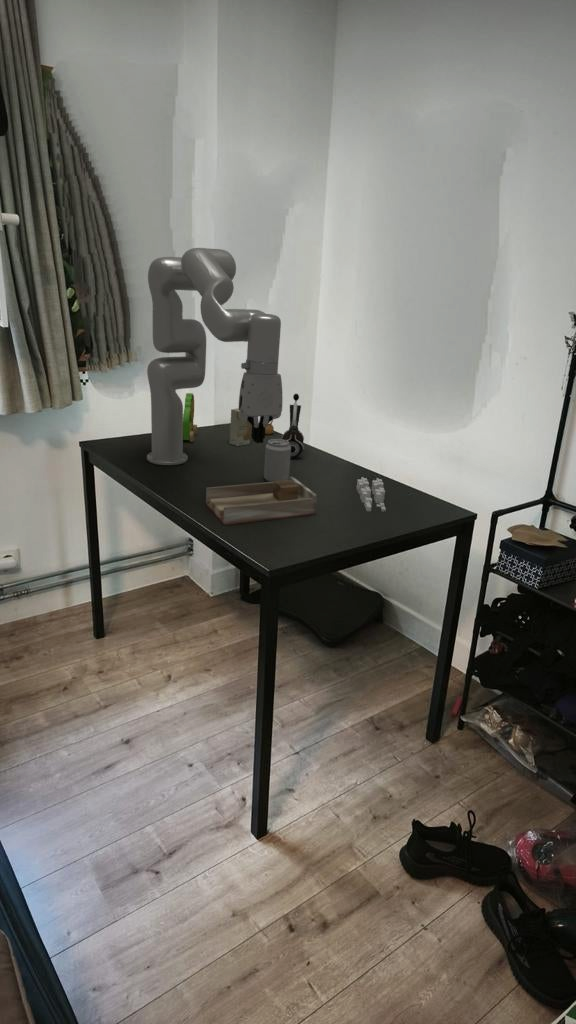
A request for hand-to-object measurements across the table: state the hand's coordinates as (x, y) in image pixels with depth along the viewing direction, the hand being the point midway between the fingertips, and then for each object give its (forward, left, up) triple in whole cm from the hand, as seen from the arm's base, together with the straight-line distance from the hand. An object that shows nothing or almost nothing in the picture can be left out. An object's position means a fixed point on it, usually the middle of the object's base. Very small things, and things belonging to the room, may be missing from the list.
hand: (257, 441), depth 158 cm
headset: (-43, +31, -19) cm, 56 cm away
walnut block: (0, +9, -16) cm, 18 cm away
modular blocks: (+2, +35, -19) cm, 40 cm away
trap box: (0, +2, -18) cm, 18 cm away
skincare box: (-58, +18, -19) cm, 63 cm away
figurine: (-67, +33, -19) cm, 77 cm away
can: (-20, +15, -19) cm, 31 cm away
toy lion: (-70, +3, -19) cm, 72 cm away
